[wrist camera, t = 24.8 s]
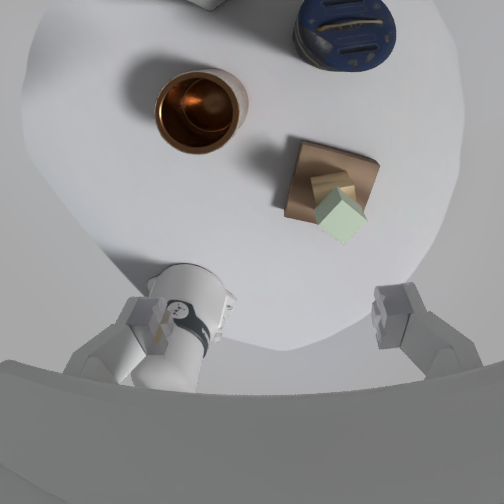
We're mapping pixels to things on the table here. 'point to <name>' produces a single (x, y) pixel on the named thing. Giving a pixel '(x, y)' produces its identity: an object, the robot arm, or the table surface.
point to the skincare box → (207, 3)
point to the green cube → (339, 215)
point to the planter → (200, 110)
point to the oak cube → (332, 185)
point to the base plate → (323, 163)
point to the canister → (344, 34)
